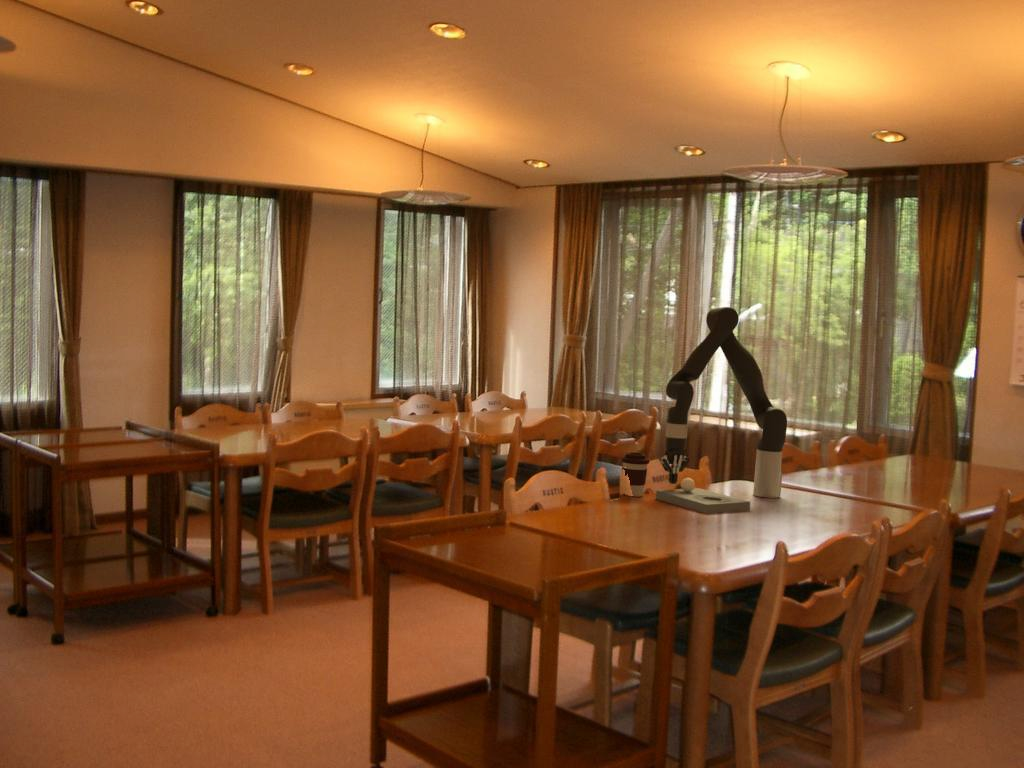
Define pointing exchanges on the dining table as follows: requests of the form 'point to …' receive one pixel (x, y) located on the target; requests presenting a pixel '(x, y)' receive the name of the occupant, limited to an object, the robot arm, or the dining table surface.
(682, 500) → the grey flat block
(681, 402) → the robot arm
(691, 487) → the ball
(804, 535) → the dining table surface
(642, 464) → the coffee cup
